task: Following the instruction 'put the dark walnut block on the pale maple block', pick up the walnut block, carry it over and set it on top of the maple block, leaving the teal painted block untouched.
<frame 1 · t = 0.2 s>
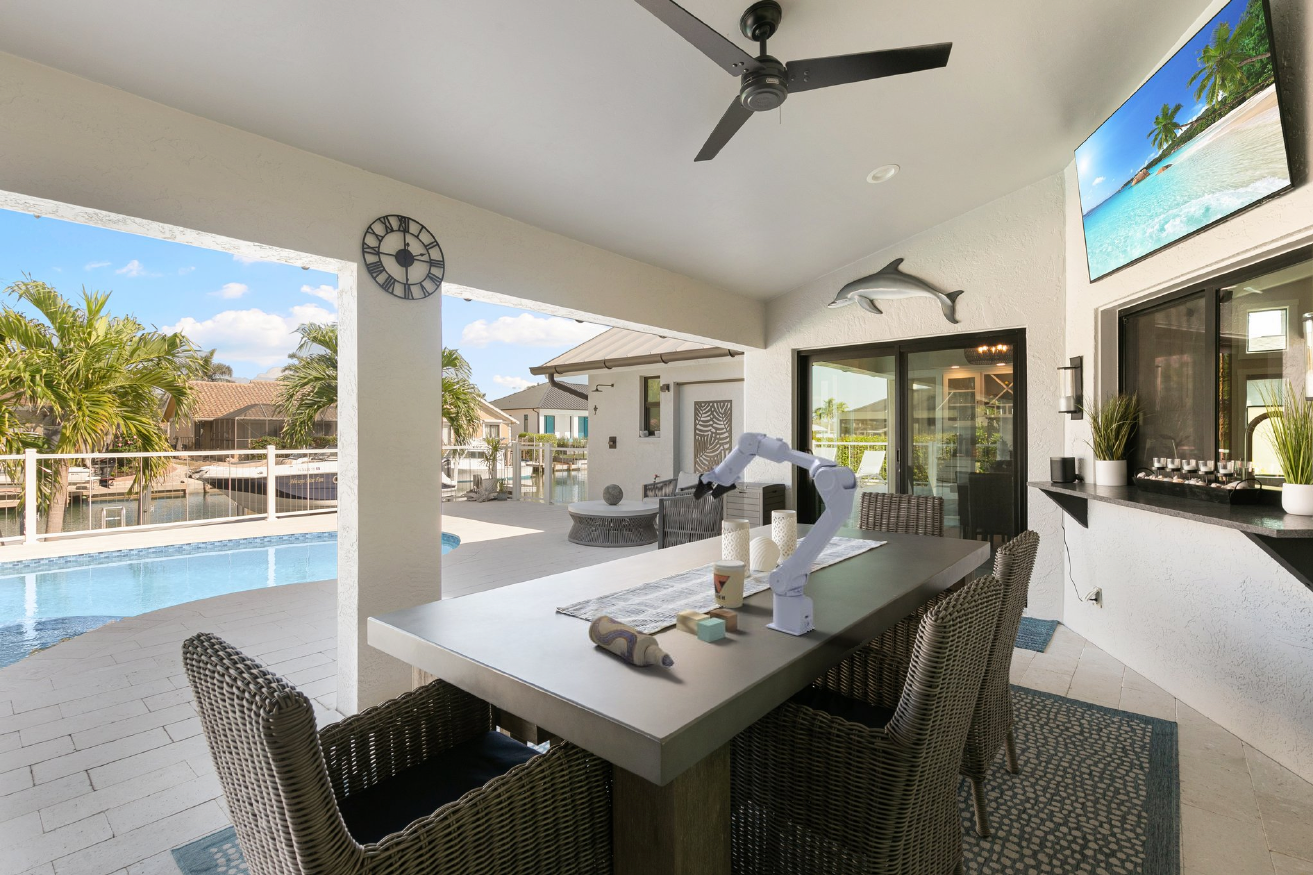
hand: (704, 497, 170), 31 cm above the table, tool tilted 45°, fingers open, 7 cm apart
decorative bottle: (627, 660, 128), on the table
walnut block: (723, 628, 150), on the table
coffee cup: (728, 604, 172), on the table
maple block: (692, 630, 148), on the table
teal block: (711, 638, 143), on the table
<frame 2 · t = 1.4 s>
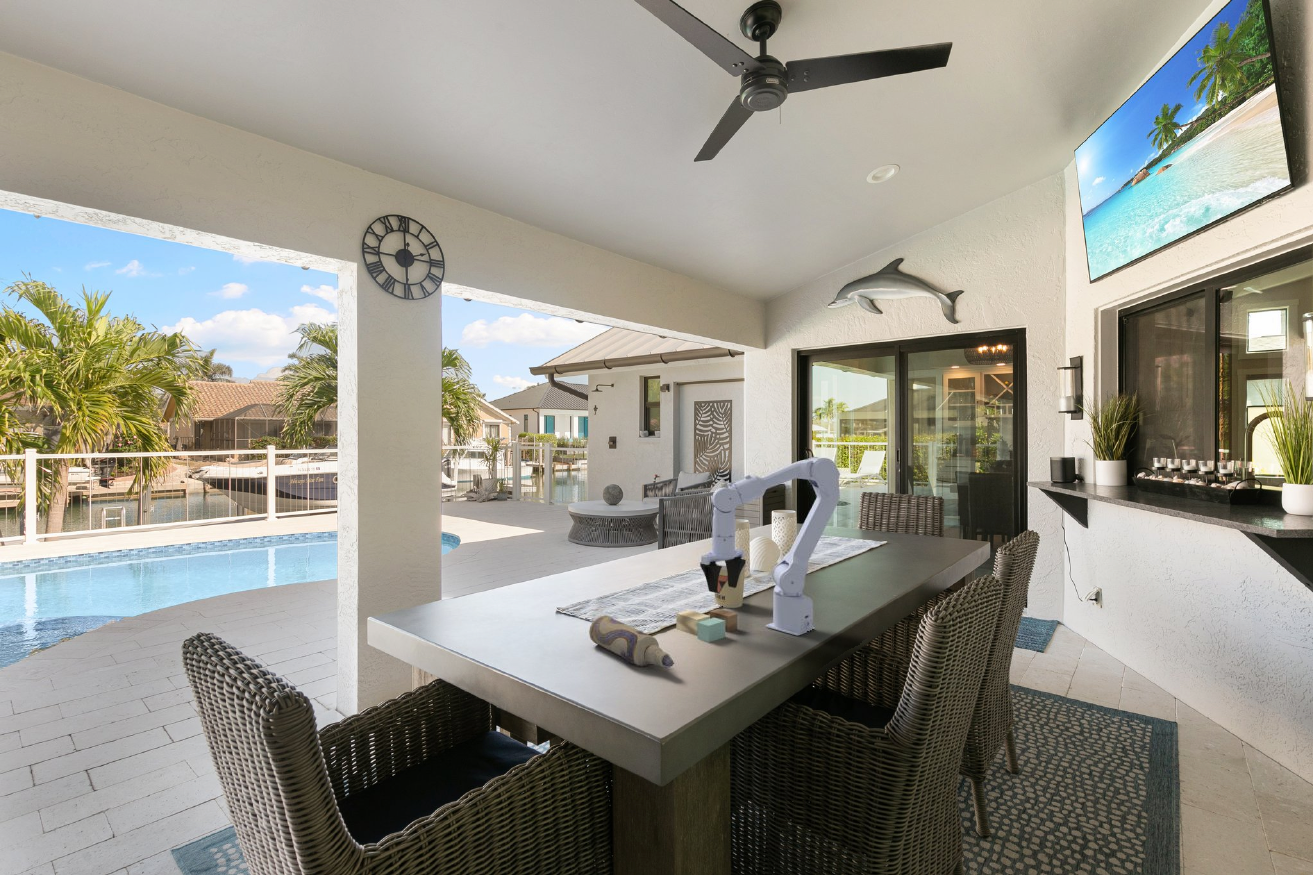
hand: (722, 589, 151), 10 cm above the table, tool pointing down, fingers open, 7 cm apart
nothing on the table moved.
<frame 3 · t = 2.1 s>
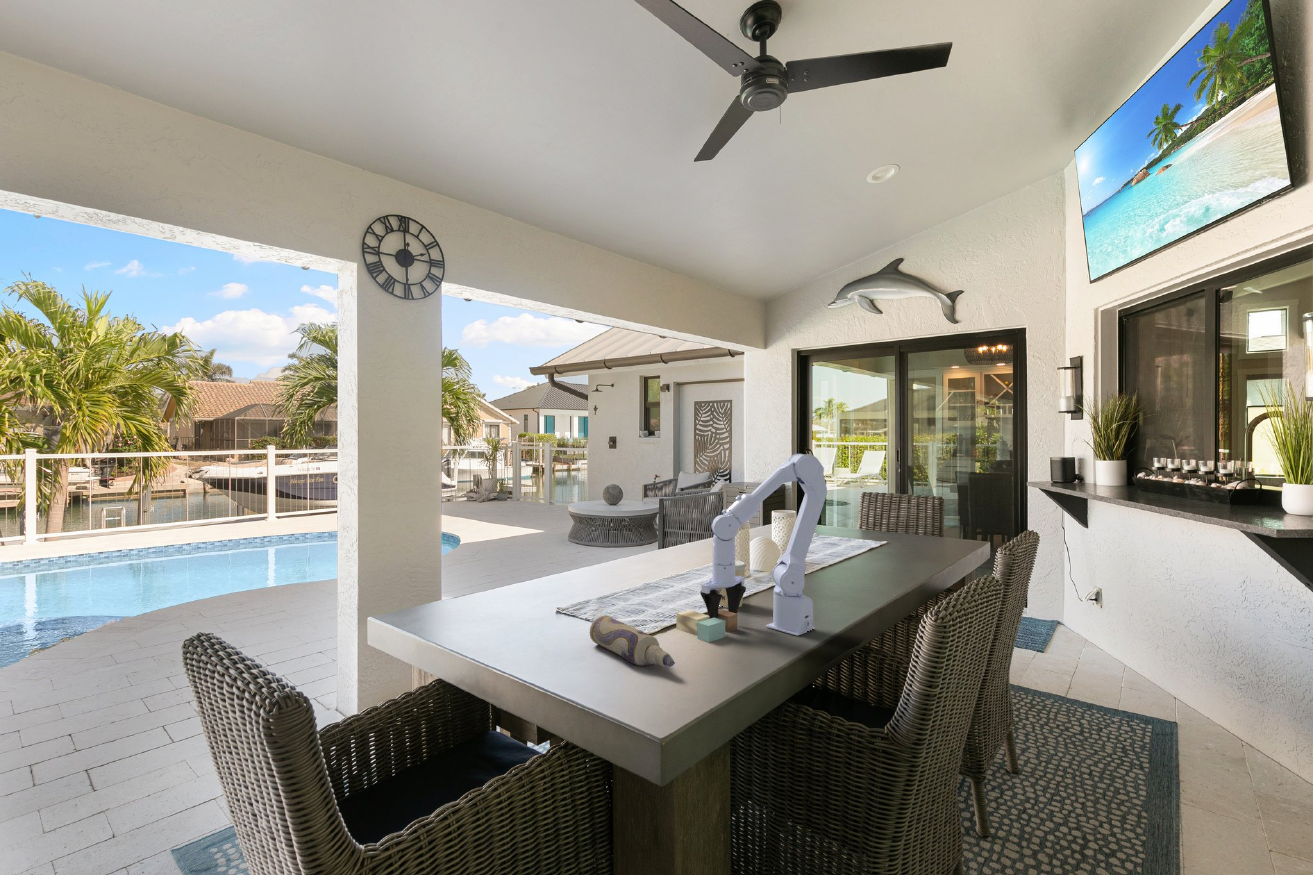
hand: (723, 617, 150), 3 cm above the table, tool pointing down, fingers open, 7 cm apart
nothing on the table moved.
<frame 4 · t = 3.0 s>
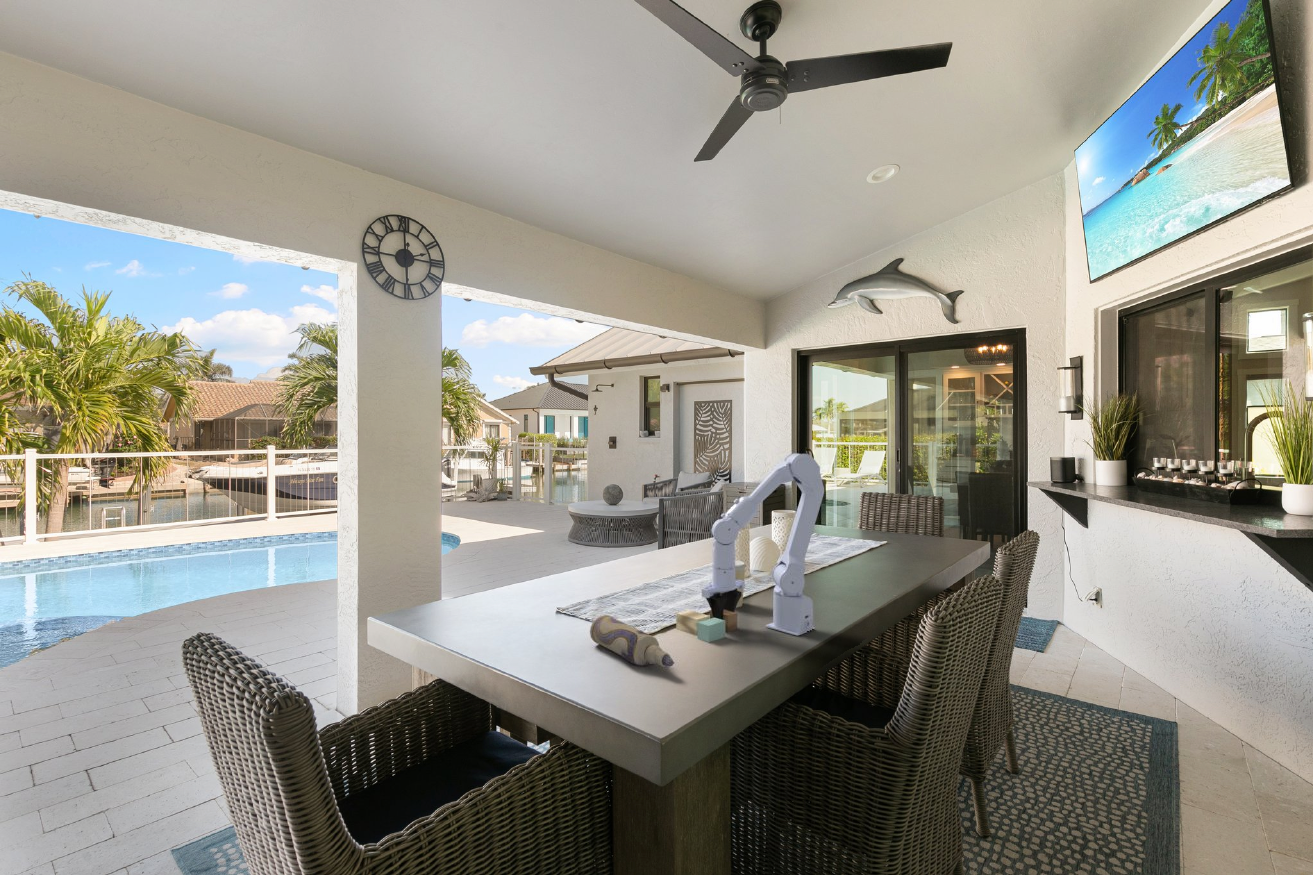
hand: (723, 621, 150), 2 cm above the table, tool pointing down, fingers closed on walnut block, 3 cm apart
walnut block: (723, 627, 150), on the table, touching gripper
everything else where it was.
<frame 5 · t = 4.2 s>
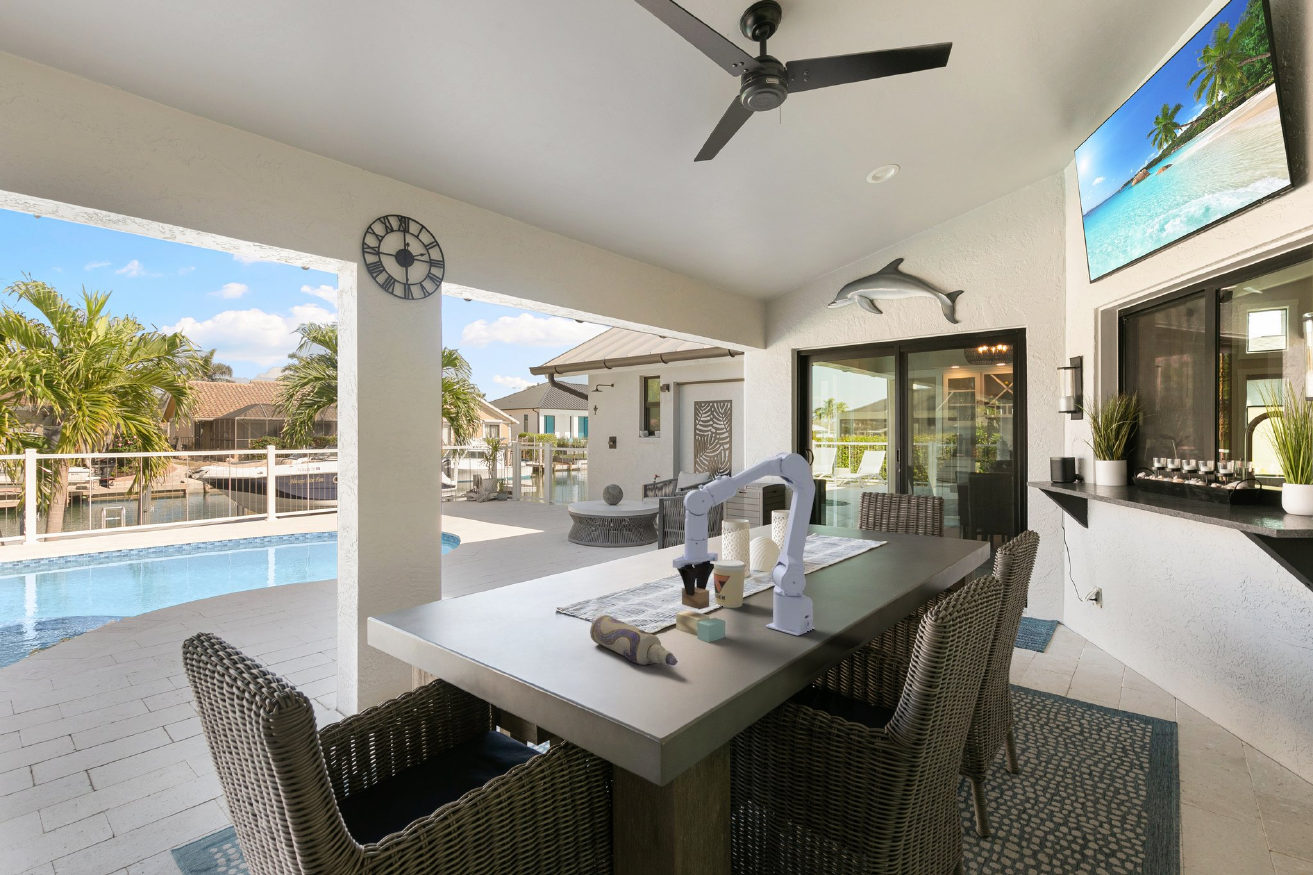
hand: (695, 593, 149), 9 cm above the table, tool pointing down, fingers closed on walnut block, 3 cm apart
walnut block: (695, 605, 149), point 6 cm above the table, touching gripper
when the fingers open (7 cm above the table, at t = 5.0 s): walnut block stays where it is, resting on maple block.
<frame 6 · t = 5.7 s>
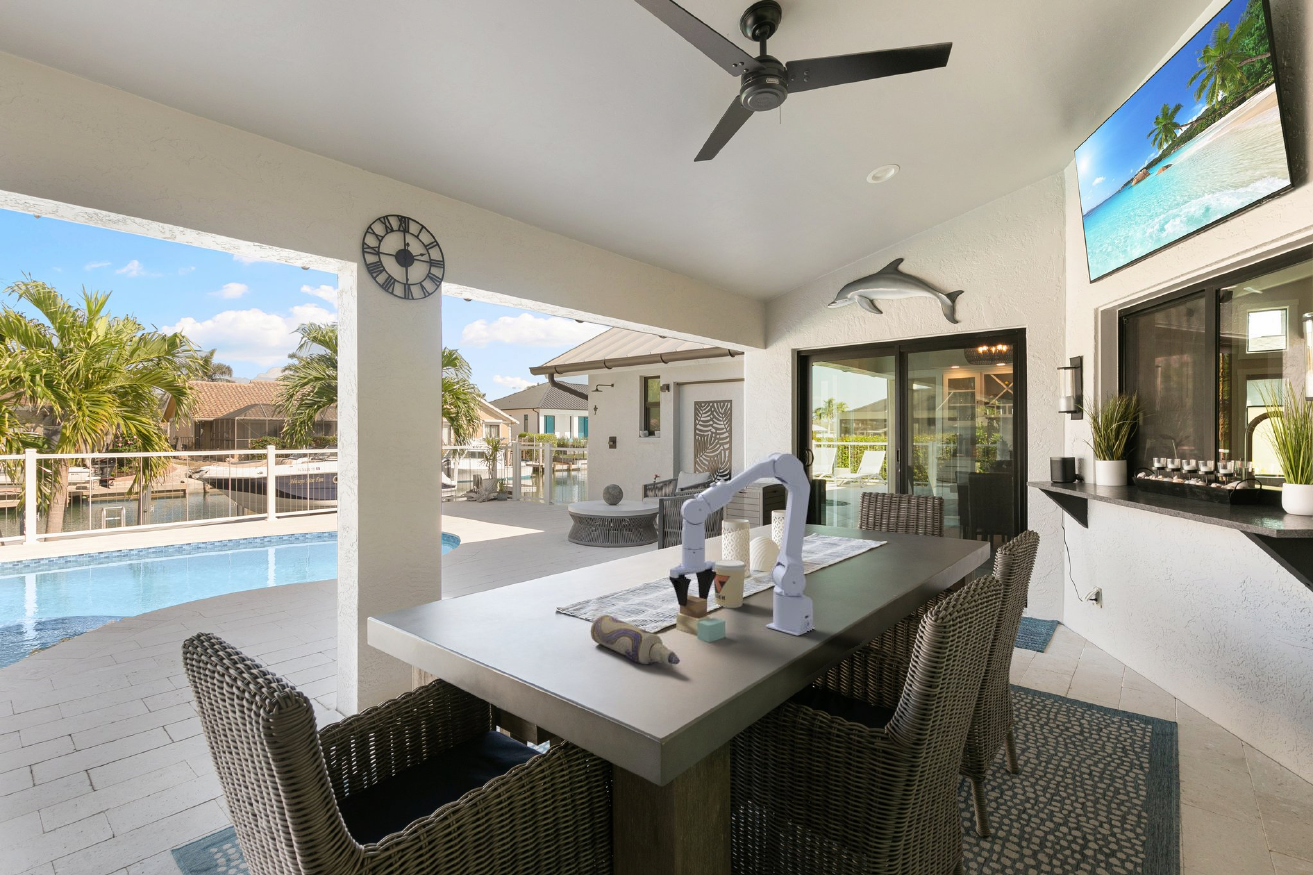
hand: (693, 602, 148), 7 cm above the table, tool pointing down, fingers open, 7 cm apart
walnut block: (693, 614, 148), point 4 cm above the table, touching maple block
maple block: (692, 630, 148), on the table, touching walnut block
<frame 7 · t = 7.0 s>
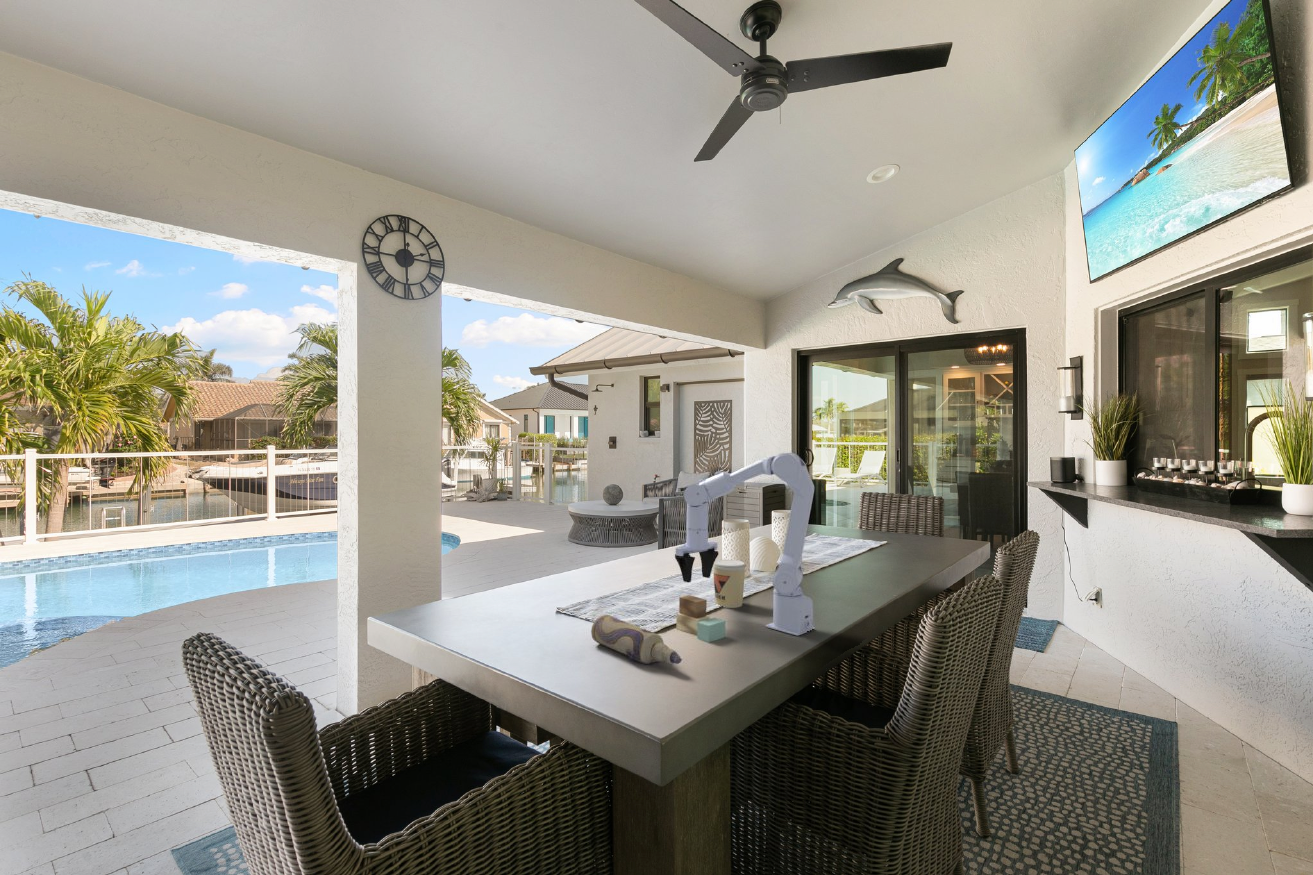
hand: (696, 579, 160), 10 cm above the table, tool pointing down, fingers open, 7 cm apart
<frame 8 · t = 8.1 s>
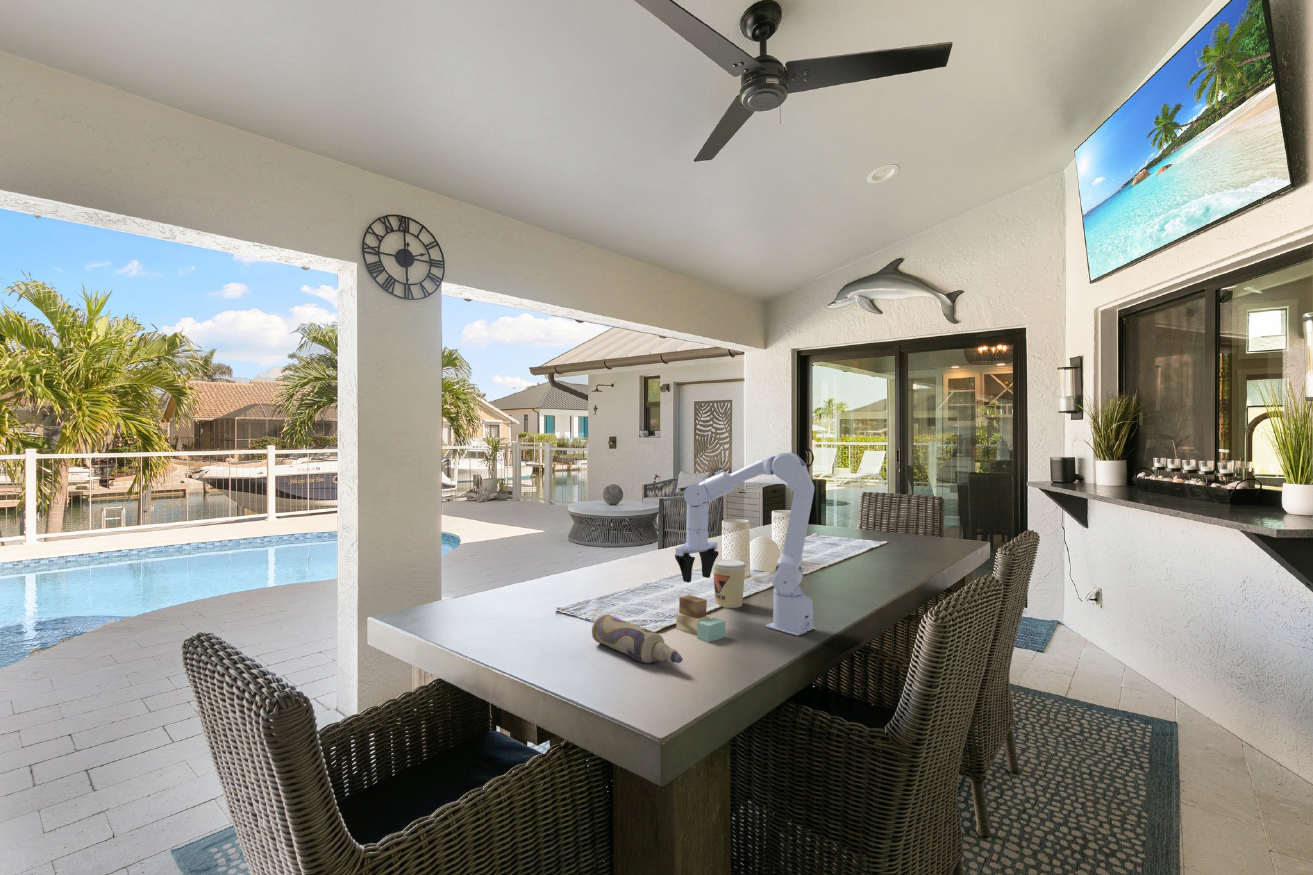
hand: (696, 579, 160), 10 cm above the table, tool pointing down, fingers open, 7 cm apart
at the end: walnut block 0.1 cm off-centre on the maple block, point 4.0 cm above the maple block's base; teal block moved 0.2 cm from its start; the gripper is holding nothing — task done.
